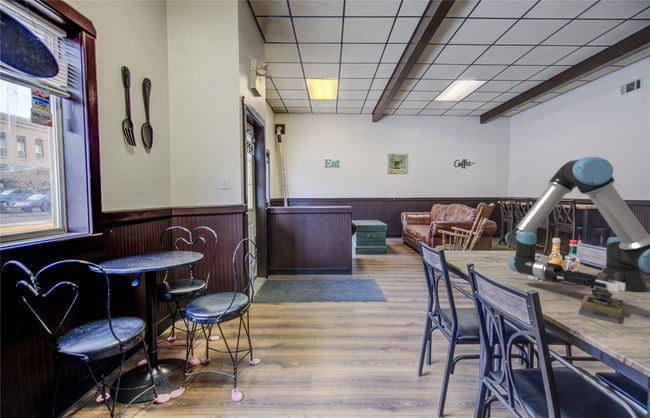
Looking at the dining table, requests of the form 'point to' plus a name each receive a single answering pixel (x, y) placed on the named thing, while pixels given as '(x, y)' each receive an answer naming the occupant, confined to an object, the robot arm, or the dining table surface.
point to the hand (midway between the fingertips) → (621, 287)
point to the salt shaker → (601, 290)
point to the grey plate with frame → (601, 309)
